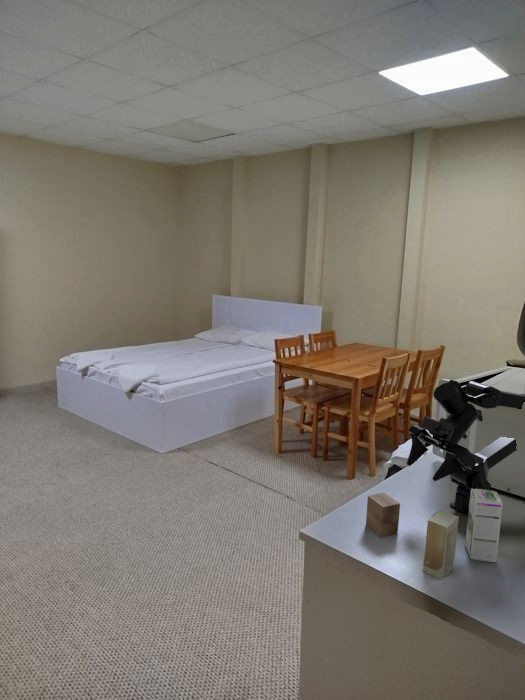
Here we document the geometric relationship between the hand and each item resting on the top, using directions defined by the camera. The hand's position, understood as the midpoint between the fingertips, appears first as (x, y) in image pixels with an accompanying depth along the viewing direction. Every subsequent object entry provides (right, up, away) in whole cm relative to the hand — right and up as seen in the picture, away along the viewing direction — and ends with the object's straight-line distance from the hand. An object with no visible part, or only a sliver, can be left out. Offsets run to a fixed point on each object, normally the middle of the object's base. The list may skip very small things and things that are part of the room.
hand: (420, 472), depth 122 cm
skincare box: (-2, -17, -17) cm, 24 cm away
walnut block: (-10, -14, -2) cm, 17 cm away
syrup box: (+10, -16, -11) cm, 22 cm away
